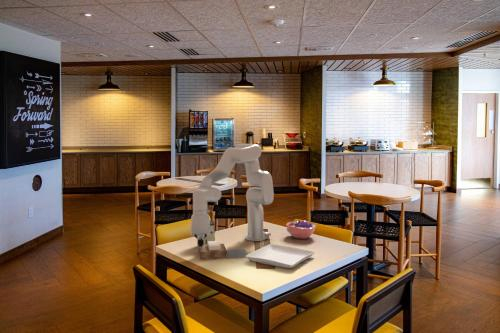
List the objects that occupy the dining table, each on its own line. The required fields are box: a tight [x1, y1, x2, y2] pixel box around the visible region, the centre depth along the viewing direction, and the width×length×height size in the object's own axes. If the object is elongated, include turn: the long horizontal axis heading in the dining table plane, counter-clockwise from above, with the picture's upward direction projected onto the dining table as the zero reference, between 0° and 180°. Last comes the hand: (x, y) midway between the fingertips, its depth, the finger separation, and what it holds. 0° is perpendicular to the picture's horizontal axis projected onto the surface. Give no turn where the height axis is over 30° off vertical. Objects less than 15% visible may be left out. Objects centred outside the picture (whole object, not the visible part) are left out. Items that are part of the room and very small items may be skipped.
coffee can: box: [196, 220, 216, 248], centre depth 245 cm, size 10×10×14 cm
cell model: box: [285, 219, 317, 240], centre depth 264 cm, size 17×20×11 cm
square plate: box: [245, 243, 316, 269], centre depth 222 cm, size 27×27×4 cm
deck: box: [197, 243, 228, 261], centre depth 229 cm, size 14×14×4 cm
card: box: [208, 240, 221, 250], centre depth 229 cm, size 6×9×2 cm, turn 10°
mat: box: [226, 248, 249, 259], centre depth 232 cm, size 11×15×1 cm
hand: (200, 246), depth 228 cm, fingers closed
